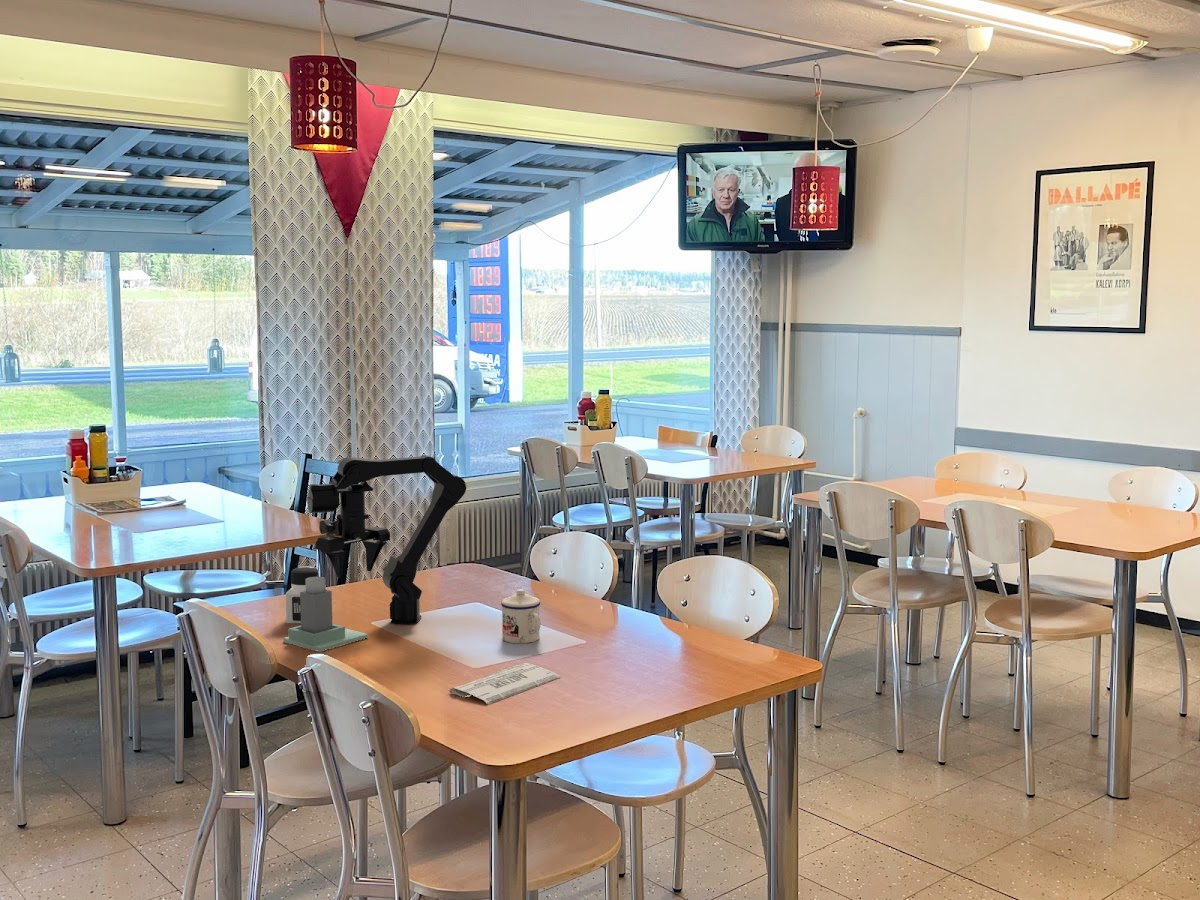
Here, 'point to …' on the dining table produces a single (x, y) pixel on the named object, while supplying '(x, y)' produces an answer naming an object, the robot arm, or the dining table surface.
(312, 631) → the upright grey pillar
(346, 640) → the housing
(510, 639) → the teacup with lid
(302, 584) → the container
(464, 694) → the newspaper
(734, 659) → the dining table surface
